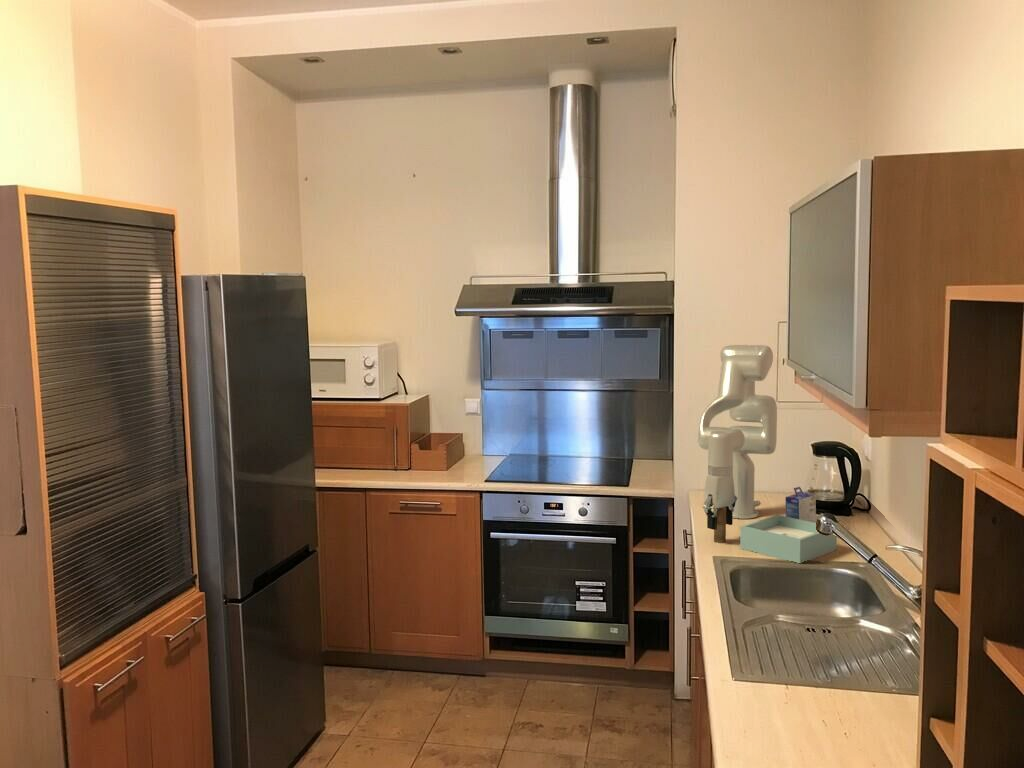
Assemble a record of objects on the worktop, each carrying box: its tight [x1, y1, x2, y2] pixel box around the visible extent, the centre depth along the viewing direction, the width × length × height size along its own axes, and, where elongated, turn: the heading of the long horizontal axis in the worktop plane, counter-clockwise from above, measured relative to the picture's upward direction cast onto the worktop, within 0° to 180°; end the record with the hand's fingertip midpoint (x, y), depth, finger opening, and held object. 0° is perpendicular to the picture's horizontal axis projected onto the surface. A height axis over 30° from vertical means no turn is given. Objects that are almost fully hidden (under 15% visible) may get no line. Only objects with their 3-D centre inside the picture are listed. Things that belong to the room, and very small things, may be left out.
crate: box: [739, 514, 838, 564], centre depth 250 cm, size 20×20×7 cm
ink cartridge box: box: [785, 486, 817, 523], centre depth 269 cm, size 10×6×14 cm, turn 129°
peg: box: [713, 507, 727, 544], centre depth 259 cm, size 4×4×12 cm
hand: (719, 526), depth 260 cm, fingers open, 7 cm apart
